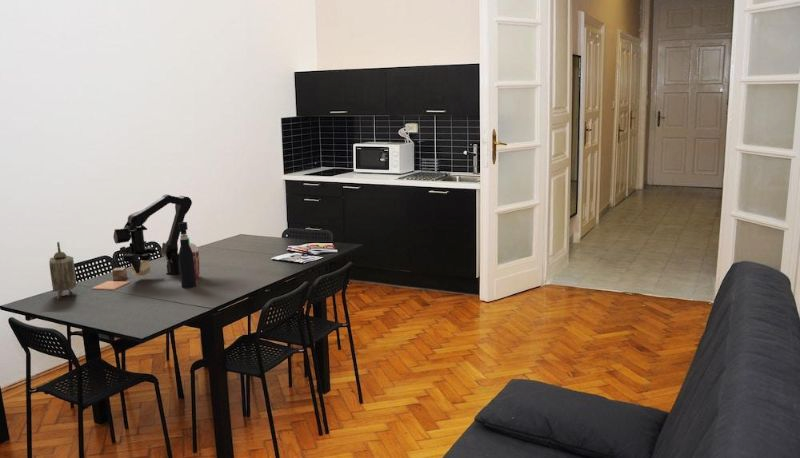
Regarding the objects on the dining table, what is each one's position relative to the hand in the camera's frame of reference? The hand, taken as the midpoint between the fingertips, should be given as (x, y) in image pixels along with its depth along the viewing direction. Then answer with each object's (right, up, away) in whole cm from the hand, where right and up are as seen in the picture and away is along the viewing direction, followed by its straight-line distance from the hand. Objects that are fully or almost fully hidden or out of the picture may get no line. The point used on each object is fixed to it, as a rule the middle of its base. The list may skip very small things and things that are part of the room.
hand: (141, 271), depth 336 cm
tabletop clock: (-26, -10, -22) cm, 35 cm away
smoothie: (+25, -3, 0) cm, 25 cm away
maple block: (0, -1, 0) cm, 1 cm away
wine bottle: (+28, -6, -14) cm, 32 cm away
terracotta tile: (-11, -6, -9) cm, 15 cm away
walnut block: (-12, -4, +5) cm, 14 cm away
